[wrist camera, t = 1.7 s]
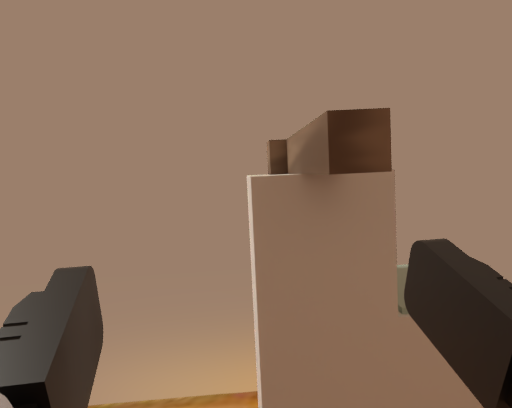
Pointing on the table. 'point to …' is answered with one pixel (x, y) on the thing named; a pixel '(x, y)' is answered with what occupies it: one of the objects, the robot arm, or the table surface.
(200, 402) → the table surface
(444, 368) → the stepped stand
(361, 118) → the walnut T-handle
